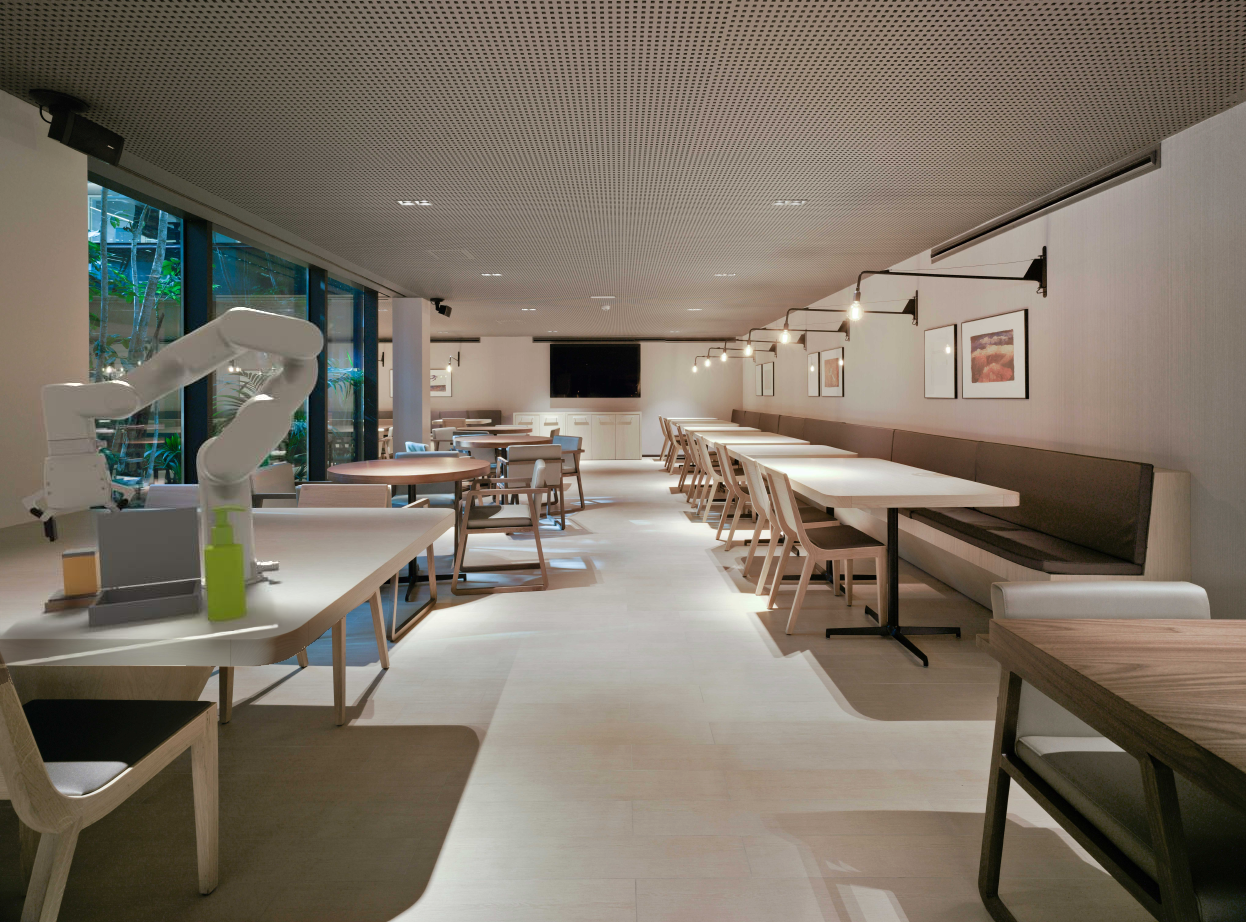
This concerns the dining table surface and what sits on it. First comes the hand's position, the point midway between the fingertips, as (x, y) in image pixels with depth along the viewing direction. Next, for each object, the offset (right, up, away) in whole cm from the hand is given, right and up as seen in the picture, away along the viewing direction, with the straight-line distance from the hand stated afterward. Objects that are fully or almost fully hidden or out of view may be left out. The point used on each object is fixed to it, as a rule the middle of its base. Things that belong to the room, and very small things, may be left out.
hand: (85, 536), depth 137 cm
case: (+17, -13, -7) cm, 23 cm away
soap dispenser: (+34, -14, -11) cm, 39 cm away
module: (0, -11, 0) cm, 10 cm away
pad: (-1, -13, 0) cm, 13 cm away
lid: (+13, -2, -1) cm, 13 cm away
